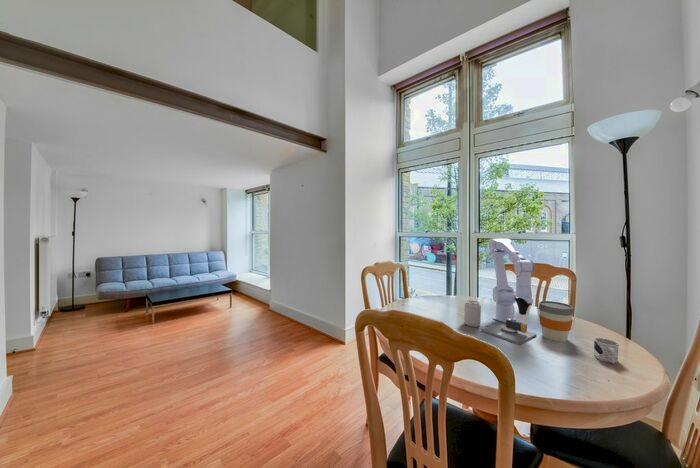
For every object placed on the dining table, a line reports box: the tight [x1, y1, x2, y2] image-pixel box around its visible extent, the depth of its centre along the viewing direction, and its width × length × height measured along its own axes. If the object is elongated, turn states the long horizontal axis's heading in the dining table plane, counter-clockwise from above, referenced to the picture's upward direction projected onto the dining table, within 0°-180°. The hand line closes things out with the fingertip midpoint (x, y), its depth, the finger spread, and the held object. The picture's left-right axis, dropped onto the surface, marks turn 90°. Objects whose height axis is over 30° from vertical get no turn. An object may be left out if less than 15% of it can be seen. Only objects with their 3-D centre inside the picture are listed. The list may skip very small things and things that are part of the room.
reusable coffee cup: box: [538, 300, 574, 343], centre depth 119 cm, size 13×12×15 cm
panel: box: [480, 321, 537, 346], centre depth 123 cm, size 16×17×1 cm
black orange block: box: [501, 318, 528, 333], centre depth 123 cm, size 11×7×5 cm, turn 33°
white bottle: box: [463, 299, 482, 328], centre depth 134 cm, size 8×8×12 cm
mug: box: [593, 337, 619, 364], centre depth 99 cm, size 10×7×7 cm
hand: (522, 314), depth 123 cm, fingers closed
